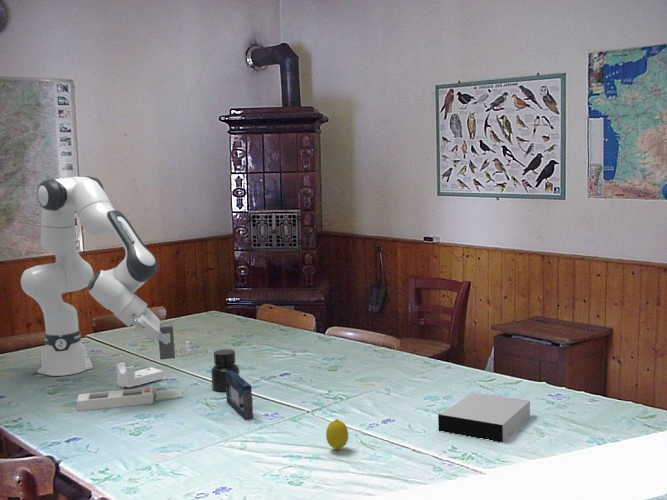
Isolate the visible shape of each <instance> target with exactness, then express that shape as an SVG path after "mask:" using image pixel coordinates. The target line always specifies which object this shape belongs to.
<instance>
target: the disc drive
mask: <svg viewBox="0 0 667 500" xmlns="http://www.w3.org/2000/svg"><path fill="white" fill-rule="evenodd" d="M529 415H530V416H531V401H530V400H528V399H527V400H526V399H519V398H513V397H506V396H500V395H492V394H484V393H479V392H470V393H469V394H467V395H466V396H464V397H463V398H462V399H461V400H459V401H458V402H456V403H455V404H454V405H452V406H451V407H450V408H448V409H447V410H445V411H444V412H442V413H441V414H438V416H437V417H438V420H437V421H438V423H437V424H438V426H437V427H438V432H441V431H444V432H443V433H446V432H449V433H448V434H452V433H455V434H454V435H457V434H461V435H460V436H462V435H466V436H465V437H468V436H471V437H470V438H473V437H476V438H475V439H479V438H483V439H482V440H484V439H489V440H493V441H492V442H495V441H498V442H497V443H500V442H502V443H503V442H504V441H505V440H506V439H507V438H508V437H509V436H510V435H511V434H512V433H513V432H514V431H515V430H516V429H518V428H519V427H520V426H521V425H522V424H523V423H524V422H525V421H526V420H527V419H528V418H529V417H530V416H529ZM528 416H529V417H528ZM527 417H528V418H527ZM526 418H527V419H526ZM525 419H526V420H525ZM524 420H525V421H524ZM523 421H524V422H523ZM522 422H523V423H522ZM521 423H522V424H521ZM520 424H521V425H520ZM519 425H520V426H519ZM518 426H519V427H518ZM515 428H516V429H515ZM513 430H514V431H513ZM512 431H513V432H512ZM511 432H512V433H511ZM510 433H511V434H510ZM509 434H510V435H509ZM508 435H509V436H508ZM507 436H508V437H507ZM506 437H507V438H506ZM505 438H506V439H505ZM504 439H505V440H504ZM489 440H488V441H489ZM503 440H504V441H503Z"/></svg>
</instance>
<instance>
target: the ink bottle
mask: <svg viewBox="0 0 667 500" xmlns="http://www.w3.org/2000/svg"><path fill="white" fill-rule="evenodd" d="M213 363H214V366H212V368H211V371H210V372H211V375H210V376H211V388H212V390H214V391H216V392H221V393H222V392H223V393H224V392H225V393H226V383H225V379H226V378H225V371H229V370H232V371H233V372H235V373H236V374H237V375H239V376H240V377H241V375H240V367H239V366H238V365H237V364H236V351H235V350H234V349H232V348H231V349H230V348H229V349H228V348H226V349H225V348H224V349H218V350H215V351H213Z"/></svg>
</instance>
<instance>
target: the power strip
mask: <svg viewBox="0 0 667 500" xmlns="http://www.w3.org/2000/svg"><path fill="white" fill-rule="evenodd" d="M150 404H154V390H153V387H152V386H151V387H144V388H143V387H142V388H141V387H139V388H133V389H130V388H129V389H122V390H121V389H120V390H110V391H100V392H87V393H79V394H78V396H77V399H76V407H77V412H80V411H89V410H90V411H91V410H100V409H112V408H121V407H130V406H139V405H140V406H141V405H150Z"/></svg>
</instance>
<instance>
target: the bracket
mask: <svg viewBox="0 0 667 500" xmlns="http://www.w3.org/2000/svg"><path fill="white" fill-rule="evenodd" d="M115 365H116V367H115V368H116V378H117V386H118V387H120V386H121V388H129V389H130V388H132V387H136V386H137V387H138V386H141V385H145V384H148V383H151V382H155V381H159V380H163V379H164V371H163V370H161V369H158V368H155V367H146V368H144V369H138V370H136V369H135V368H136V367H135V366H134V365H131V366H126V362H120V363H116V364H115Z"/></svg>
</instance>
